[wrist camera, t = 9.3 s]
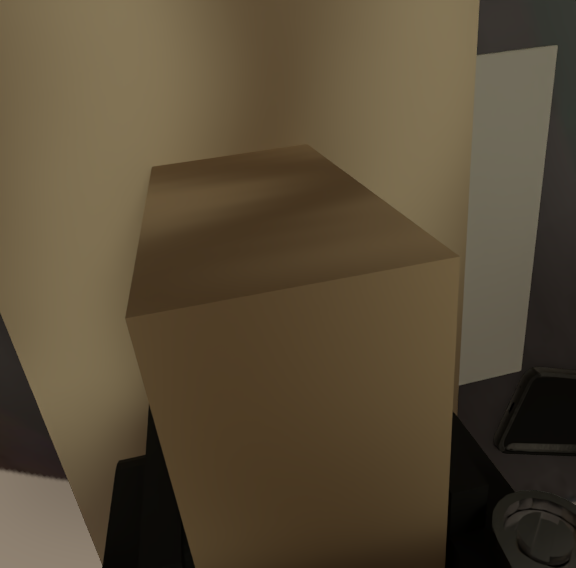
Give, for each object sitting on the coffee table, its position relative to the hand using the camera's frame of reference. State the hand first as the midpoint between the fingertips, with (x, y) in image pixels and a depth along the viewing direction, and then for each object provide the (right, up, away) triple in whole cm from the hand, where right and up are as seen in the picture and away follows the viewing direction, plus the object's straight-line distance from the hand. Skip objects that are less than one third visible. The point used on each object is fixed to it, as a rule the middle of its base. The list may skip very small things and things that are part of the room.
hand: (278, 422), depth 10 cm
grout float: (-1, +1, +3) cm, 3 cm away
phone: (+24, -8, +33) cm, 41 cm away
